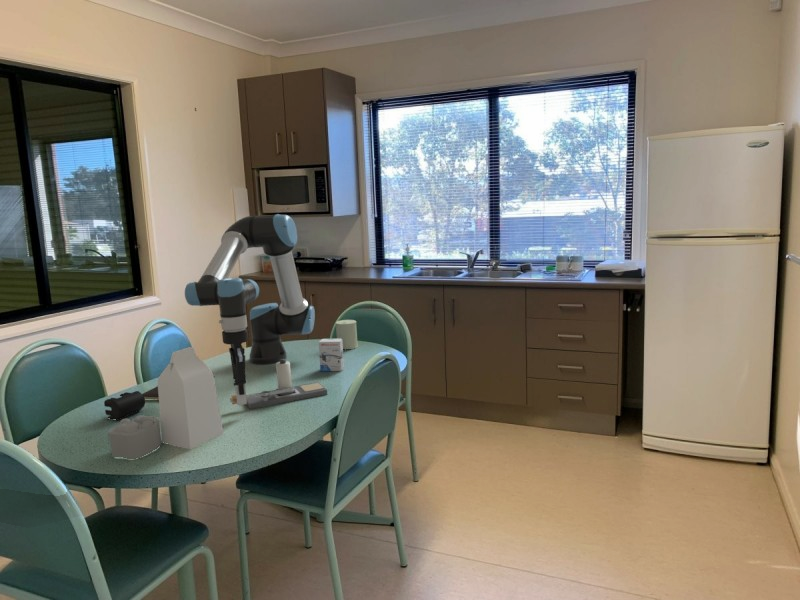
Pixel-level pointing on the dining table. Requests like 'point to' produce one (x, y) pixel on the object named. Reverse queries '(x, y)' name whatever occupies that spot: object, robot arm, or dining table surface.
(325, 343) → the ink box
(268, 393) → the clip
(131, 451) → the lumpy-topped squat cylinder
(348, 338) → the cream tapered cylinder
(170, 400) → the milk
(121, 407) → the end cap
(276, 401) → the grey slotted tray
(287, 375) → the plug
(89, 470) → the dining table surface
